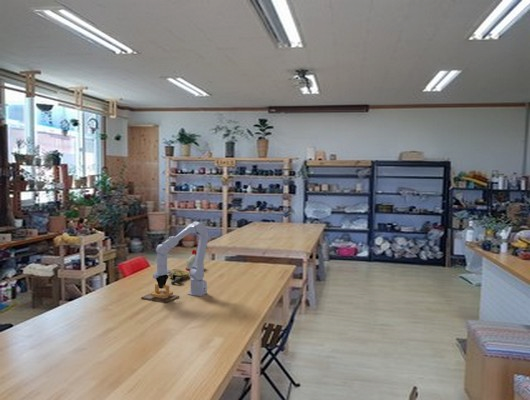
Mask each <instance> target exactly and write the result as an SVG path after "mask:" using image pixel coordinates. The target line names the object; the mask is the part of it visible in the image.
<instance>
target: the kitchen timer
mask: <svg viewBox="0 0 530 400" xmlns="http://www.w3.org/2000/svg"><path fill="white" fill-rule="evenodd" d="M196 253H197V249H196V250H195V249H193V250H192V251H191V254H192V255H191V256H189V258H188V259H187V260H186V263H185V271H187V272H190V269H191V268H192V265H193V264H194V262H195V257H196ZM203 267H204V268H205V265H204V263H203Z"/></svg>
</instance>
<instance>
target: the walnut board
mask: <svg viewBox="0 0 530 400" xmlns="http://www.w3.org/2000/svg"><path fill="white" fill-rule="evenodd" d="M154 292H155V291H153V292H152V293H154ZM160 294H161V293H160ZM163 295H164V294H163ZM179 298H180V295H178V294H177V295H176V294H173V295H170V296H168V297H166V298H159V297H153V296H151V293H149V294H146V295H143V296H141V297H140V299H141V300H145V301H151V300H152V302H158V303H159V302H160V303H165V304H168V303H170V302H173V301H174V300H177V299H179Z"/></svg>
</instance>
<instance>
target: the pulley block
mask: <svg viewBox="0 0 530 400" xmlns="http://www.w3.org/2000/svg"><path fill="white" fill-rule="evenodd" d="M189 272H190V271H187V270H181V269H175V268H174V269H171V273H170V274H168V275H169V277H170V279H171V282H170V284H173V285H174V284H177V283H178V282H182V281H184V280H188V279H190V278H189V276H190V274H189Z"/></svg>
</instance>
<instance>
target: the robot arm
mask: <svg viewBox="0 0 530 400" xmlns="http://www.w3.org/2000/svg"><path fill="white" fill-rule="evenodd" d="M189 234H196V235H197V236H198V238H199V239H198V244H197V249H196V252H197V253H196V257H195V262H194V264H193V265H192V268H191V269H190V271H188V272H189V276H190V292H188V293H187V295H191V296H196V297H202V296H204V295H206V294H208V291H207V290H208V284H207V283H208V282H207V281H206V280H205V279H204V278H205V272H204V271H205V266H204V267H203V264H204V261H205V257H206V252H207V247H208V242H209V232H208V226H207V225H206V224H205V223H204V222H199V221H195V220H194V221H193V222H192V223H189V224H188V225H187V226H185V228H184V229H182V230H181V231H180V232H179V233H178V234H176V235H172V236H169V237H168V238H167V239H166V240H165V241H162V242H161V243H160V244H158V245H157V246H156V248H155V252H156V271H155V273H154V274H153V275H152V279H155V281H156V282H157V284H158V286H159V290H164V288H163V285H166V284H167V282H168V281H167V280H168V278H169V277H170V276H169V274H170V273H171V271H172V269H171V270H170V269H168V254H169V251H170V250H172V249H174V247H176V246H177V245H178V244H179V241H181V240H182V239H184V238H185V237H186V236H188V235H189Z"/></svg>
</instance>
